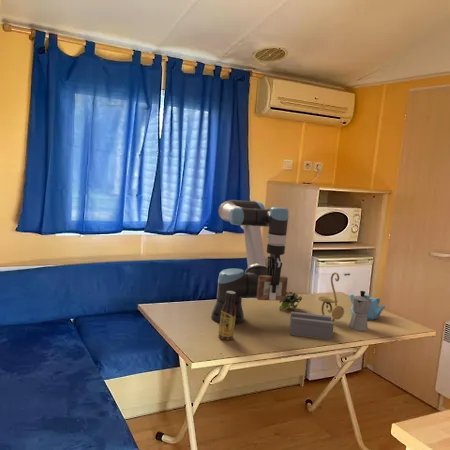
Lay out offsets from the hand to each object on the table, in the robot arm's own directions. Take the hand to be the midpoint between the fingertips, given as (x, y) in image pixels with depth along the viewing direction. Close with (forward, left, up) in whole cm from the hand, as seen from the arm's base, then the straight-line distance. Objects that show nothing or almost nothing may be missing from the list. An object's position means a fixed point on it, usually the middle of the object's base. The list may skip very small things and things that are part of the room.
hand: (270, 298), depth 194 cm
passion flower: (+11, +41, -17) cm, 45 cm away
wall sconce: (+29, +29, -17) cm, 44 cm away
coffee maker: (+43, +26, -17) cm, 53 cm away
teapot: (+49, +46, -17) cm, 69 cm away
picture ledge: (+19, +11, -17) cm, 27 cm away
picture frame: (0, 0, 0) cm, 0 cm away
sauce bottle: (-17, -8, -17) cm, 25 cm away
